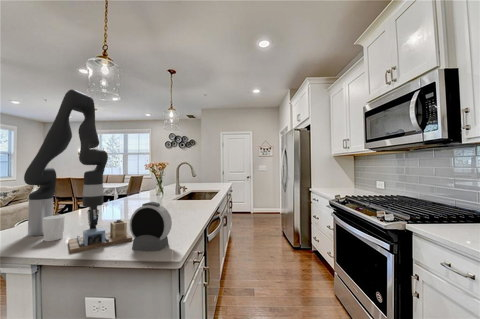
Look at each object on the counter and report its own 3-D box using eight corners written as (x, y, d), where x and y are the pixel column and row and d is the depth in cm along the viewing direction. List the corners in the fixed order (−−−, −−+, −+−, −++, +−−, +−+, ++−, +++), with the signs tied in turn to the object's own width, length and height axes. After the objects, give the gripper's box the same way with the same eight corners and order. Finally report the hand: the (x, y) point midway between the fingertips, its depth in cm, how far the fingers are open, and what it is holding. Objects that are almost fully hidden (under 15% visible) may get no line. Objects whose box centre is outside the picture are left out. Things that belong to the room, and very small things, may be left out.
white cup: (51, 242, 98) (52, 219, 98) (37, 241, 99) (37, 218, 99) (68, 236, 105) (69, 215, 106) (55, 235, 107) (55, 214, 107)
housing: (83, 242, 93) (83, 230, 93) (102, 238, 97) (102, 227, 97) (84, 246, 88) (84, 233, 88) (104, 242, 93) (105, 230, 93)
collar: (110, 235, 103) (110, 222, 103) (123, 232, 106) (123, 220, 106) (112, 238, 98) (112, 224, 99) (126, 235, 102) (126, 222, 102)
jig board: (68, 243, 97) (68, 223, 97) (124, 233, 111) (124, 216, 111) (70, 253, 85) (70, 230, 85) (132, 240, 99) (132, 221, 99)
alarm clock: (124, 250, 88) (125, 204, 89) (139, 241, 98) (140, 200, 99) (163, 252, 86) (163, 204, 86) (174, 243, 96) (174, 200, 97)
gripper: (105, 195, 95) (105, 236, 94) (100, 192, 105) (100, 229, 104) (84, 197, 90) (83, 240, 89) (81, 194, 100) (80, 232, 100)
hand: (92, 234), depth 97 cm, fingers closed
